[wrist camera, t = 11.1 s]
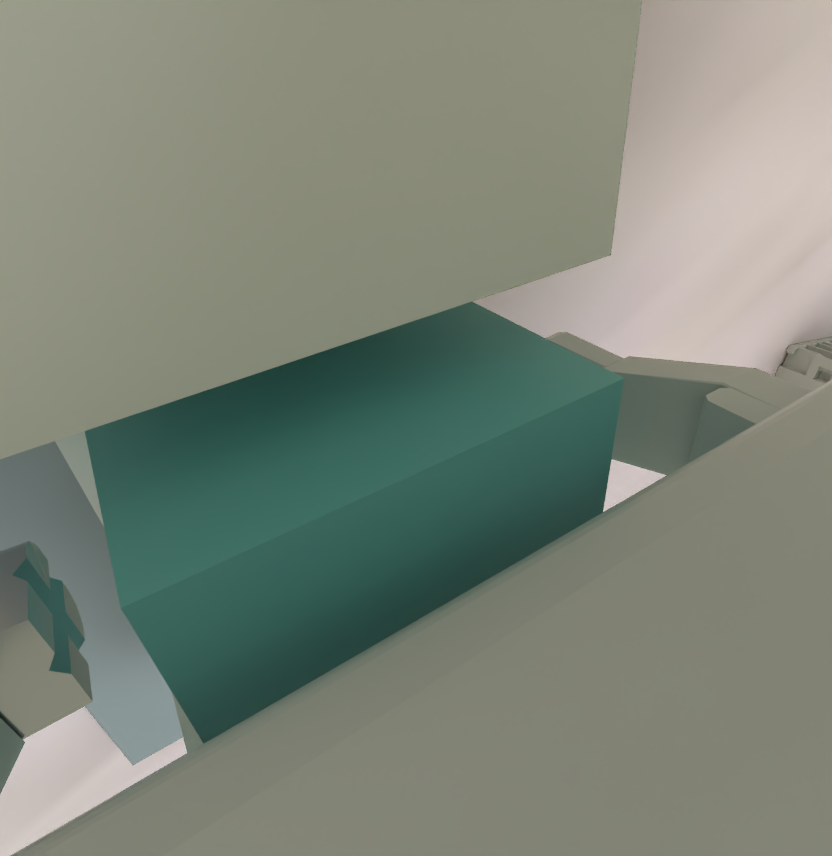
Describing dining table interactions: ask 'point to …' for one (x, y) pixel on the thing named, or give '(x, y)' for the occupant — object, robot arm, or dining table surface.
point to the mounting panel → (263, 221)
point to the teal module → (343, 499)
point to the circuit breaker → (808, 364)
